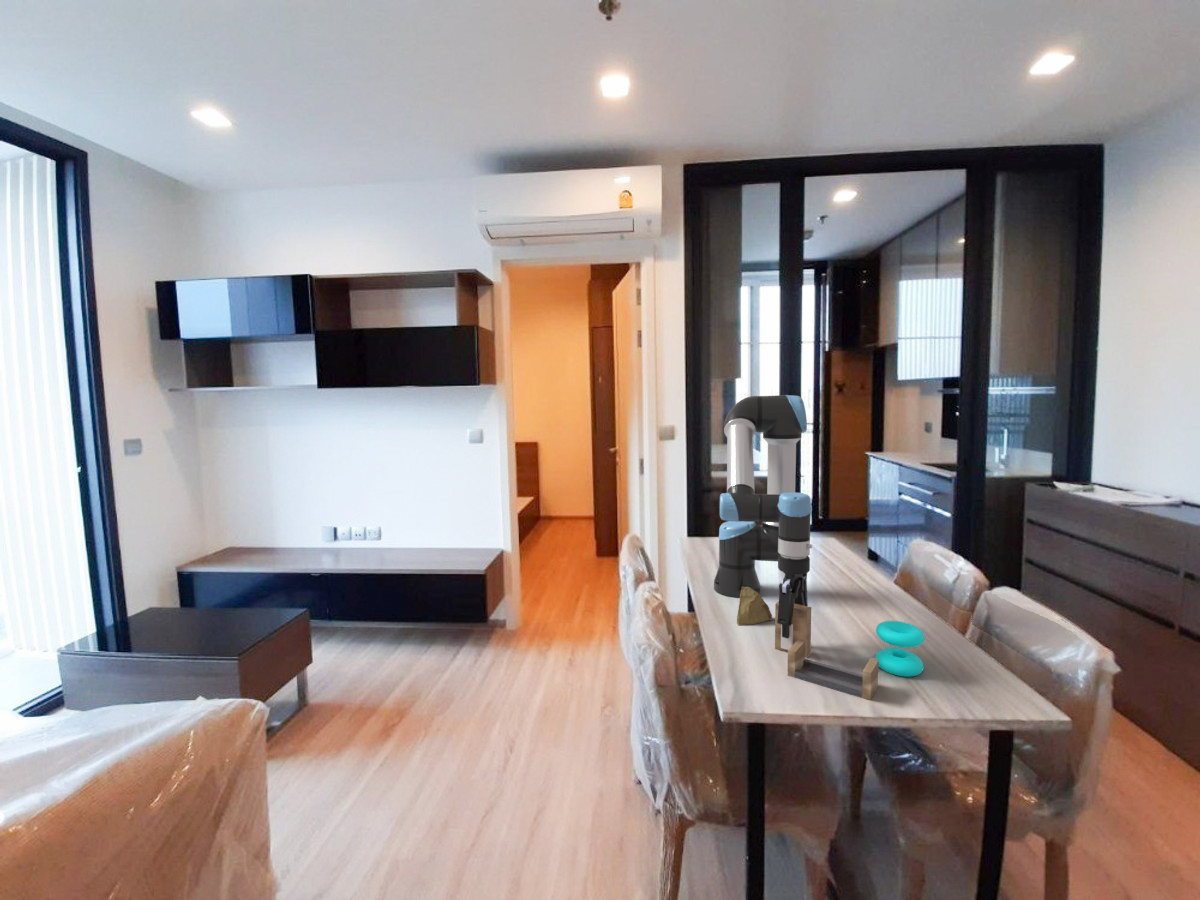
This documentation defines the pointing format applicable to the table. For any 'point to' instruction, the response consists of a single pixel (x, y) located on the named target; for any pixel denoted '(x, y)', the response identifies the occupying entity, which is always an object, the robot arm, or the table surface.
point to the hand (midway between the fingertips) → (792, 642)
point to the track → (831, 677)
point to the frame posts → (869, 673)
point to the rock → (752, 608)
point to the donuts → (898, 658)
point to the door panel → (796, 627)
